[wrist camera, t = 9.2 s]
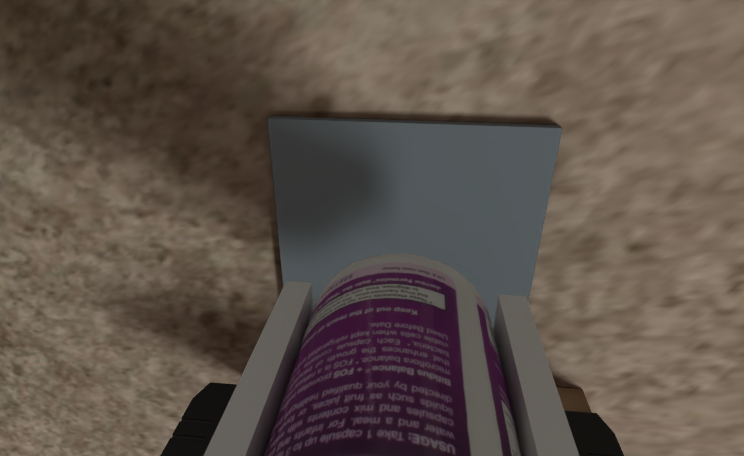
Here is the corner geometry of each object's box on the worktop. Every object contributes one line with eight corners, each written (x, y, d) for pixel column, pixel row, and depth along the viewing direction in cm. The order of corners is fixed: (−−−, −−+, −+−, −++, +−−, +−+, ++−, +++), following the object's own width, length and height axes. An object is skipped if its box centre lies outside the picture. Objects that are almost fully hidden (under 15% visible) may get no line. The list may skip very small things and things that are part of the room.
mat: (559, 125, 16) (562, 128, 15) (515, 352, 20) (516, 358, 20) (270, 116, 16) (267, 118, 16) (290, 336, 21) (288, 342, 21)
